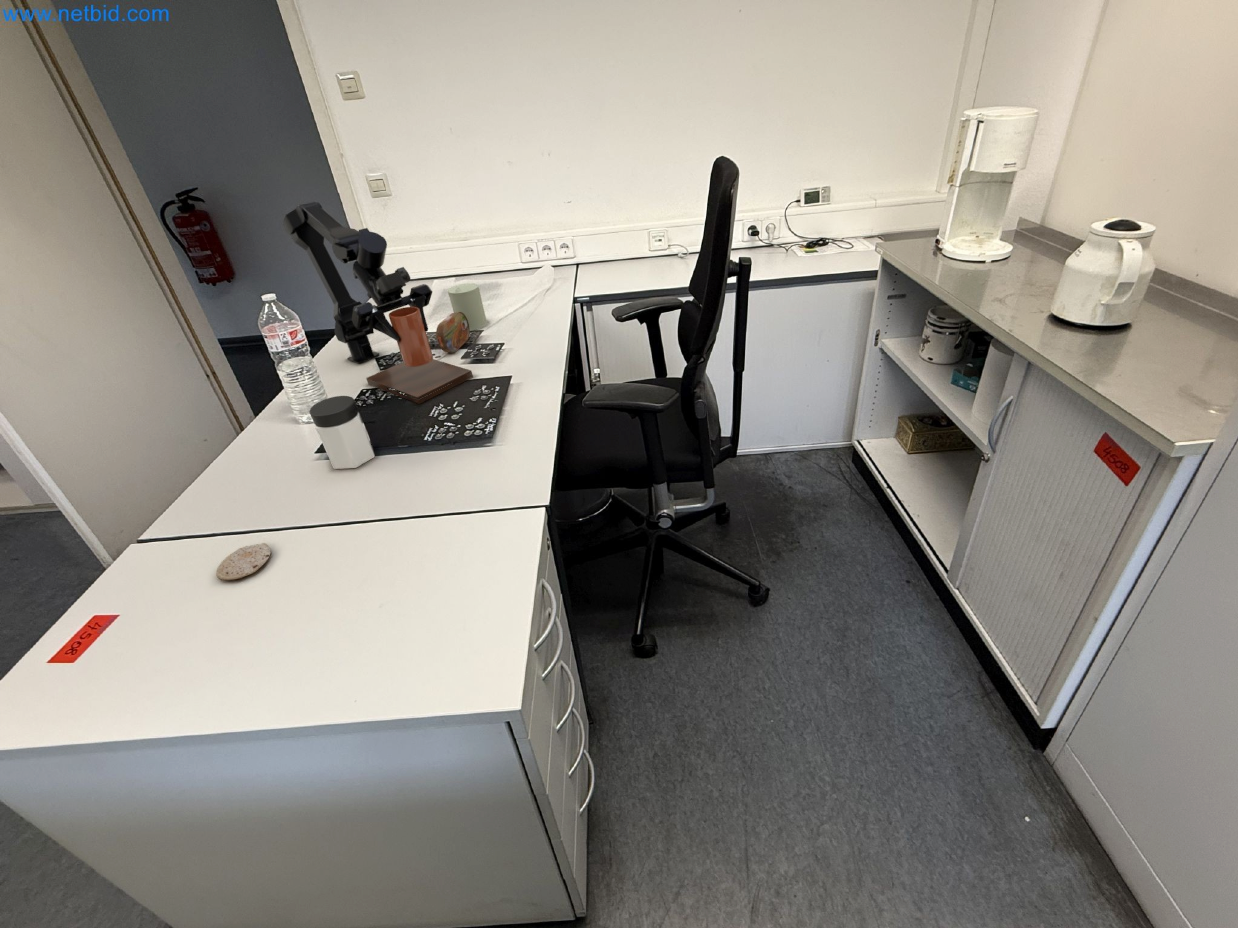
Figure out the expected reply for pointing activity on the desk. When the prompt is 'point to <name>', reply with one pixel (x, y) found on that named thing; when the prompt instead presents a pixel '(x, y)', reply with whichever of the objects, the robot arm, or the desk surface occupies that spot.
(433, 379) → the board
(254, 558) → the flatbread
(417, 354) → the pen cup
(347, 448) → the jar
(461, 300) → the can
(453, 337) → the tin
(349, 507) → the desk surface
